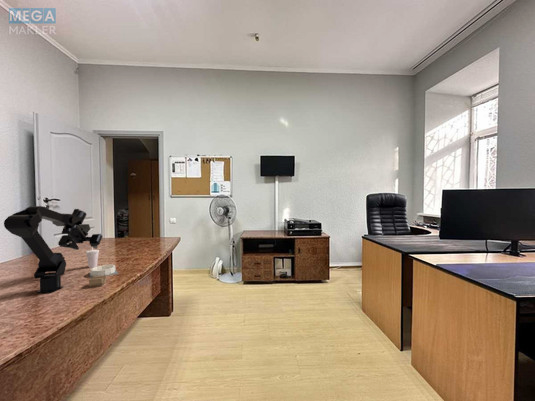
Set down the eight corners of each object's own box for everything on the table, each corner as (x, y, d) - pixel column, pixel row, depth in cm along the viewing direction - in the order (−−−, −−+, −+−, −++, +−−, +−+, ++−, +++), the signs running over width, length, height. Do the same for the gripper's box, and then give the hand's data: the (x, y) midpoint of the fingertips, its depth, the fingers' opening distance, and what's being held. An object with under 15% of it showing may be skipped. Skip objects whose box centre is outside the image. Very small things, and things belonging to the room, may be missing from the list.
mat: (118, 274, 125) (118, 273, 125) (90, 279, 117) (90, 278, 117) (114, 269, 134) (114, 268, 134) (88, 273, 126) (88, 273, 126)
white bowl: (105, 276, 120) (105, 270, 120) (85, 276, 121) (85, 270, 121) (119, 270, 131) (119, 264, 131) (101, 270, 131) (101, 264, 131)
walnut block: (102, 287, 107) (101, 278, 107) (89, 288, 106) (88, 279, 106) (106, 283, 112) (106, 275, 112) (93, 284, 111) (93, 276, 111)
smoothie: (97, 265, 142) (97, 241, 142) (101, 267, 138) (100, 243, 138) (84, 267, 137) (84, 243, 137) (87, 269, 133) (87, 245, 133)
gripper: (100, 219, 128) (110, 236, 140) (61, 220, 125) (74, 237, 136) (92, 236, 121) (104, 252, 132) (50, 237, 118) (66, 254, 129)
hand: (87, 248), depth 133 cm, fingers open, 9 cm apart
